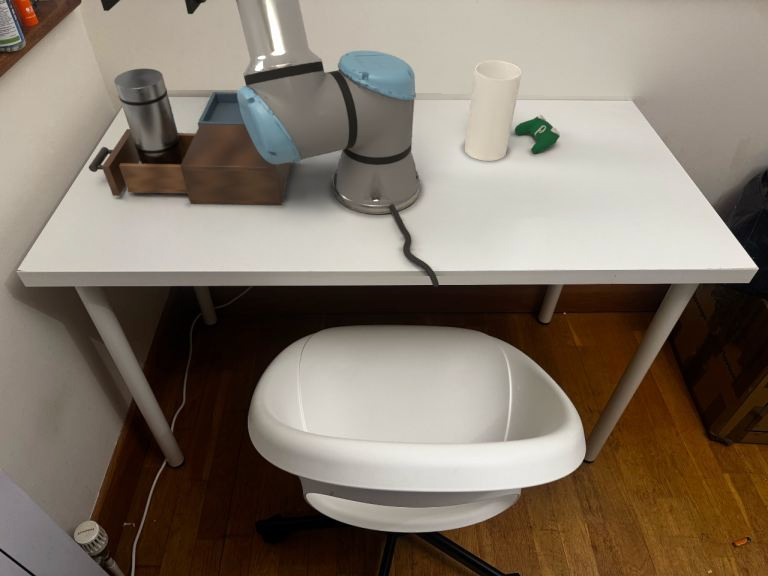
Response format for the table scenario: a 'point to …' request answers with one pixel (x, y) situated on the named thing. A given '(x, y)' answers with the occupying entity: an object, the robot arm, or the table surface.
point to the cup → (492, 109)
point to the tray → (222, 110)
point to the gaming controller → (539, 132)
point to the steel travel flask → (149, 116)
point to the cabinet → (231, 169)
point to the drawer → (139, 168)
